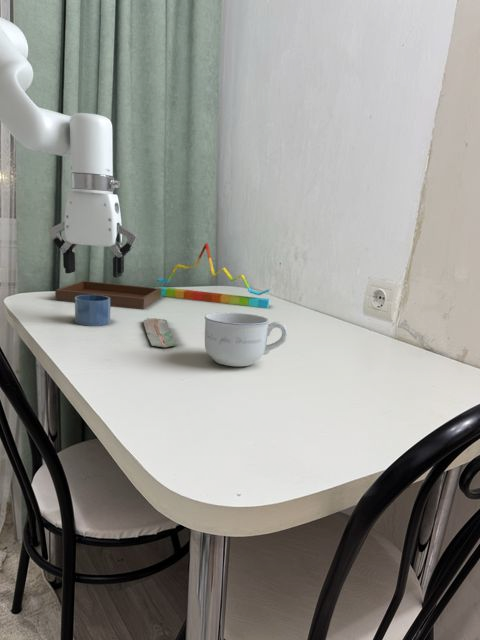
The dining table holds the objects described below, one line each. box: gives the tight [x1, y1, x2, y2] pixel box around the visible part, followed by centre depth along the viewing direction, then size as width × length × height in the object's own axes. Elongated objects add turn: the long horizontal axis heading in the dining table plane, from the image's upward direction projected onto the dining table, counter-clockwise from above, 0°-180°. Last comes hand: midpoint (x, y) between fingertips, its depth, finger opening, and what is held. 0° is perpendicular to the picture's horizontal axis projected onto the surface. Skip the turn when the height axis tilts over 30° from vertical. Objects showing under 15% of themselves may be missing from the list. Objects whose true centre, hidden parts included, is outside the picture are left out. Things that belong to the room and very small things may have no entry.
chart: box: [156, 242, 271, 309], centre depth 135 cm, size 30×3×15 cm, turn 82°
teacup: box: [204, 311, 289, 367], centre depth 85 cm, size 14×11×8 cm
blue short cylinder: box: [74, 295, 111, 327], centre depth 103 cm, size 7×7×5 cm
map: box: [143, 317, 179, 348], centre depth 99 cm, size 5×20×1 cm, turn 17°
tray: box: [54, 280, 162, 310], centre depth 127 cm, size 21×15×2 cm
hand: (93, 274), depth 101 cm, fingers open, 9 cm apart
